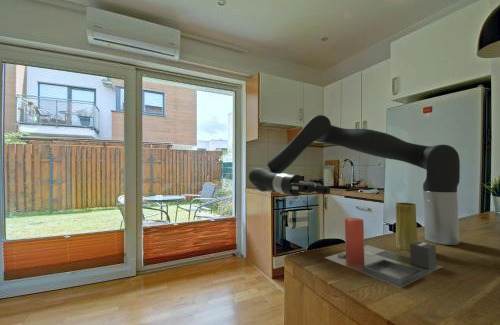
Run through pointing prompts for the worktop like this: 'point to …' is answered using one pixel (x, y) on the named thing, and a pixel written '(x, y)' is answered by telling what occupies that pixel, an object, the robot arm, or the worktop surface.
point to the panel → (386, 266)
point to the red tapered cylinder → (354, 240)
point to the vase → (406, 225)
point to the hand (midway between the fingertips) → (328, 190)
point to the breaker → (423, 255)
